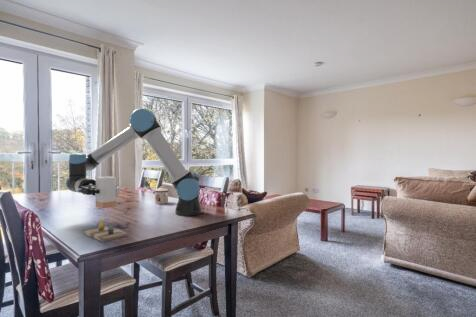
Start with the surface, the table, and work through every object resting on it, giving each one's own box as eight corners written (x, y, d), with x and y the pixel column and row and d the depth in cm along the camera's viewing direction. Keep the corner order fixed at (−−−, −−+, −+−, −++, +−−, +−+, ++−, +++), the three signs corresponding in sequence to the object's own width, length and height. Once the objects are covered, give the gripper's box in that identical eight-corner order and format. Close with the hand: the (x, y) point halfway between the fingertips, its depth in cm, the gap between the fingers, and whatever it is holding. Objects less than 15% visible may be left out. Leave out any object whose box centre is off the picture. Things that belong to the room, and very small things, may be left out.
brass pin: (104, 229, 120) (104, 220, 120) (102, 230, 118) (102, 221, 118) (100, 229, 120) (100, 220, 120) (97, 230, 118) (97, 221, 118)
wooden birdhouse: (152, 202, 189) (152, 186, 189) (164, 201, 196) (164, 185, 195) (161, 205, 181) (161, 187, 180) (173, 203, 187) (173, 186, 187)
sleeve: (115, 206, 123) (116, 177, 122) (102, 208, 118) (102, 178, 118) (108, 204, 126) (109, 176, 126) (95, 206, 121) (95, 177, 121)
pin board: (126, 235, 117) (126, 232, 116) (103, 241, 108) (103, 238, 108) (106, 229, 126) (106, 225, 126) (83, 234, 118) (83, 230, 118)
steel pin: (114, 232, 115) (114, 223, 115) (112, 234, 113) (112, 224, 113) (109, 232, 115) (109, 223, 115) (107, 234, 113) (107, 224, 113)
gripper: (106, 192, 140) (131, 197, 127) (65, 196, 125) (89, 203, 111) (106, 177, 140) (132, 181, 126) (65, 180, 125) (89, 184, 111)
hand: (111, 191), depth 119 cm, fingers closed on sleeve, 6 cm apart
